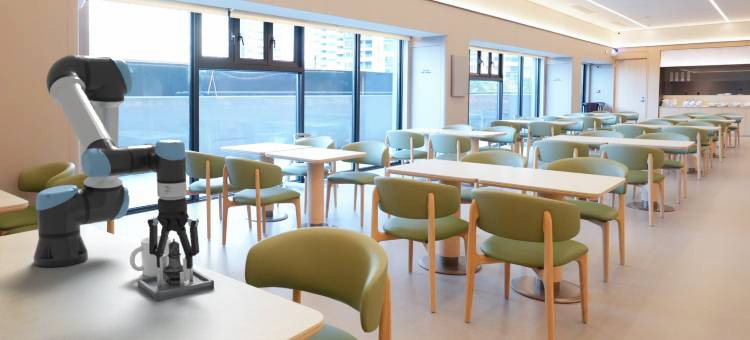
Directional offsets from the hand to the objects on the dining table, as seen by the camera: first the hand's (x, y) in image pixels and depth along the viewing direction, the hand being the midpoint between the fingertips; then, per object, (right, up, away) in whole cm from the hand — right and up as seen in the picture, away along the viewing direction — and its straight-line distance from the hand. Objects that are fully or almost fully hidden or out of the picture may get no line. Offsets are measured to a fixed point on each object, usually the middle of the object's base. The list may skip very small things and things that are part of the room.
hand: (175, 279), depth 163 cm
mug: (-11, -1, +12) cm, 16 cm away
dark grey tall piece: (0, -1, 0) cm, 1 cm away
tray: (0, -3, 0) cm, 2 cm away
